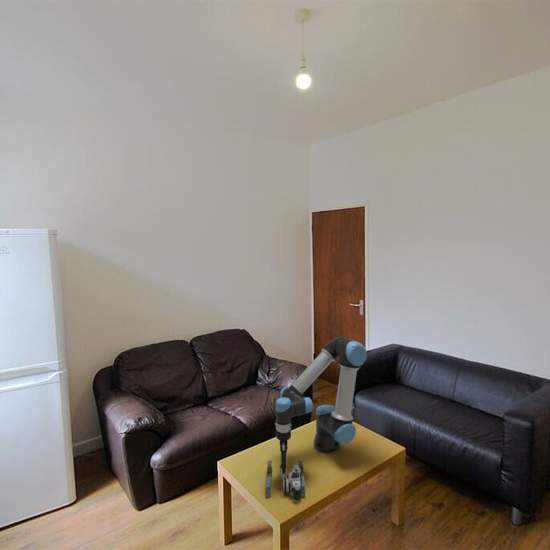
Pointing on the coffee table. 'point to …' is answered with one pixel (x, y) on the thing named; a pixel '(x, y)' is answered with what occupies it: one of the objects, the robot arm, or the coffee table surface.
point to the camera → (293, 483)
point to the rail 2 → (302, 478)
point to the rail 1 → (269, 479)
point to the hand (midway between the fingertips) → (283, 469)
